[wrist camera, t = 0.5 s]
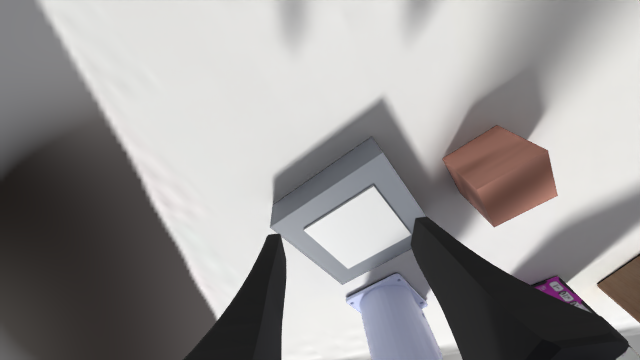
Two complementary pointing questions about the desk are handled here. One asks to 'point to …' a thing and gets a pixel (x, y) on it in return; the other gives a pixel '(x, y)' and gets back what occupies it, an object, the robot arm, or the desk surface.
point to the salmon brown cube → (502, 174)
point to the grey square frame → (350, 214)
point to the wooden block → (625, 287)
